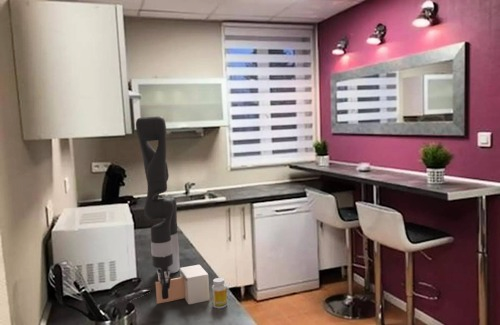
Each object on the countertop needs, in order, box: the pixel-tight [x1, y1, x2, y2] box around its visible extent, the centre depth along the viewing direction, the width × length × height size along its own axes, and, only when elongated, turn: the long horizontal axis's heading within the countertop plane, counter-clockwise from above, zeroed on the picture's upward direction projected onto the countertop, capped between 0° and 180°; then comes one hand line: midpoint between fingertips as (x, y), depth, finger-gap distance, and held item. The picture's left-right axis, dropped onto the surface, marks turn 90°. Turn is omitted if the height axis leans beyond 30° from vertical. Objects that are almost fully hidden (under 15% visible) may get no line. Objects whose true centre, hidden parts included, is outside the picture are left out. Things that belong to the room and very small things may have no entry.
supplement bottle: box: [211, 277, 228, 309], centre depth 153 cm, size 5×5×10 cm
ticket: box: [155, 276, 185, 304], centre depth 159 cm, size 1×14×8 cm, turn 113°
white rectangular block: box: [178, 264, 211, 305], centre depth 162 cm, size 12×8×10 cm
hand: (165, 297), depth 158 cm, fingers closed
